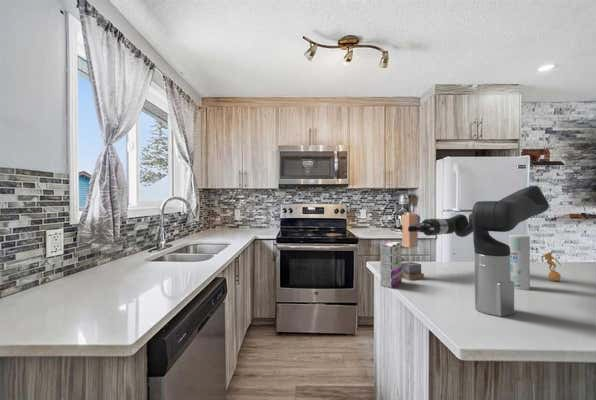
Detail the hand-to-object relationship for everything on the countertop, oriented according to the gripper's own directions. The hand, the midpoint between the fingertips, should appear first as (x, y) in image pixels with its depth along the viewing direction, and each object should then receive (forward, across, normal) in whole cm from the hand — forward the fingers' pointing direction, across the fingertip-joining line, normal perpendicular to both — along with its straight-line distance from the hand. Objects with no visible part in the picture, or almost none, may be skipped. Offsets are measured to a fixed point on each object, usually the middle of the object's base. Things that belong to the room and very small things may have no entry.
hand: (404, 228), depth 133 cm
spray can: (-29, +29, +22) cm, 47 cm away
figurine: (-51, +28, +22) cm, 63 cm away
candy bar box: (+13, +6, +22) cm, 26 cm away
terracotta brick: (-3, 0, +8) cm, 8 cm away
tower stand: (-2, 0, +21) cm, 22 cm away
